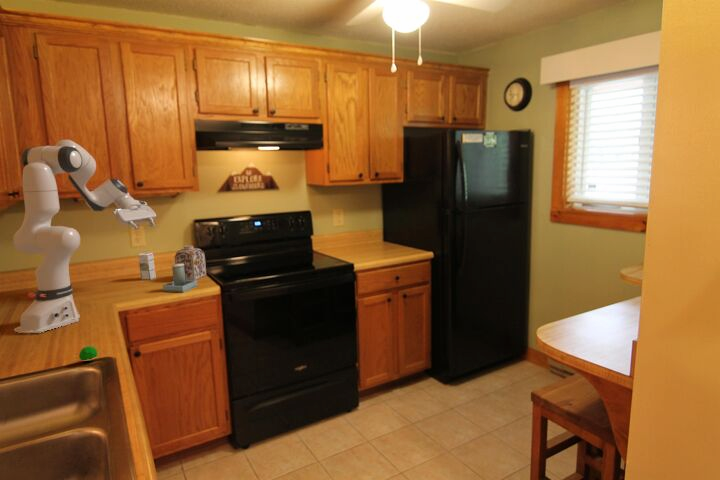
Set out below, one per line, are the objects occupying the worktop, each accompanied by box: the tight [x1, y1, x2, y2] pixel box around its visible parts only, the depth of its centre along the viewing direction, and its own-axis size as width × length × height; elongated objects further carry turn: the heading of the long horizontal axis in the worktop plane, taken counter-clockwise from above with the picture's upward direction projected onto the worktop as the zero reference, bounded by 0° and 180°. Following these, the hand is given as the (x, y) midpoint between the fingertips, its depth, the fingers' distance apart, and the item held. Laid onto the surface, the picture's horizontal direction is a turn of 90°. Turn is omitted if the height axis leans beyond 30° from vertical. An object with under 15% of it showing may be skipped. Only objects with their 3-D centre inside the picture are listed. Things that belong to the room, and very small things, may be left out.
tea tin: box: [171, 263, 186, 286], centre depth 226 cm, size 6×6×12 cm
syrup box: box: [137, 252, 157, 281], centre depth 249 cm, size 6×6×14 cm
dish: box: [162, 279, 199, 293], centre depth 226 cm, size 12×12×3 cm
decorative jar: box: [174, 244, 207, 281], centre depth 248 cm, size 12×12×18 cm
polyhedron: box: [78, 345, 99, 361], centre depth 143 cm, size 5×5×5 cm
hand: (145, 227), depth 225 cm, fingers open, 8 cm apart
